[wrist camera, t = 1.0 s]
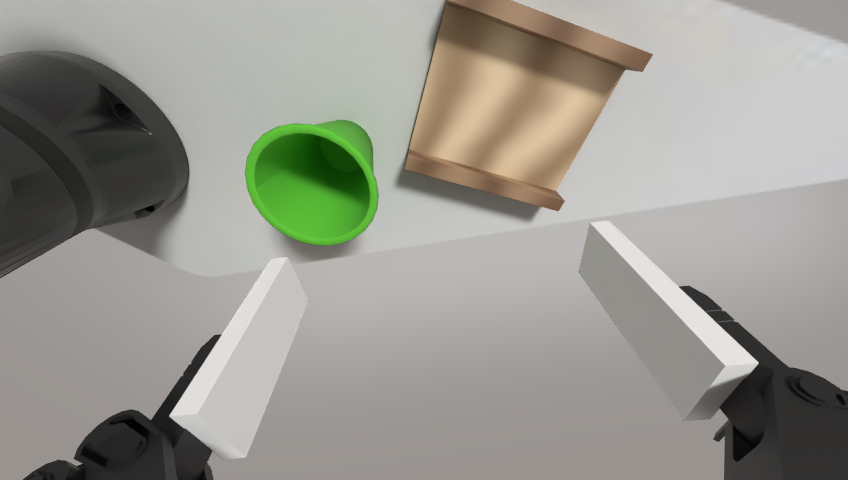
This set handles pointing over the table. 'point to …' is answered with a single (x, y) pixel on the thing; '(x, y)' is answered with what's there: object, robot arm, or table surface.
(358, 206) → the cup
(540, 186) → the wooden tray
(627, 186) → the table surface
